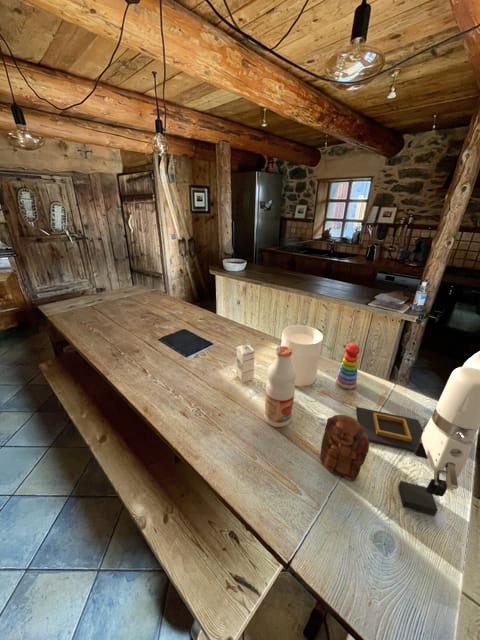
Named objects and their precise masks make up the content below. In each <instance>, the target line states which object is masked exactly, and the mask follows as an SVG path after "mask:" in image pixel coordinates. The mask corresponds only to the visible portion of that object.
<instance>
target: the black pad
mask: <svg viewBox="0 0 480 640" xmlns="http://www.w3.org/2000/svg"><path fill="white" fill-rule="evenodd" d="M397 488H398V492H399V495H400V496H399V497H400V502H401V505H402V508H405V509H408V510H411V511H415V512H417V513H421V514H425V515H428V516H431V517H435V516H436V514H437V513H438V511H439V510H438V507H437V503H436V500H435V498H434V494H430V493H427V491H426V488H427V486H422V485H419V484H415V483H410V482H409V481H405V480H404V481H403V480H400V482H399V483H398V487H397Z"/></svg>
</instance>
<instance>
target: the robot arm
mask: <svg viewBox="0 0 480 640" xmlns="http://www.w3.org/2000/svg"><path fill="white" fill-rule="evenodd" d="M479 429H480V351H477V352H476V353H474V354H473V355H472V356H471V357H469V358H468V359H467V360H466V361H465V362H464V363H463V365H462V366H459V367H457V368H455V369H454V370H452V372H451V373H450V376H449V378H448V379H447V382H446V384H445V386H444V389H443V391H442V393H441V395H440V397H439V400H438V402H437V403H436V406H435V408H434V410H433V412H432V414H431V416H430V418H429V420H428V421H424V422H423V427H422V431H421V433H422V437H421V438H419V442H420V443H419V444H418V446H417V448H416V450H415V452H413V454H414V455H415V457H418V458H423V459H425V460H428V463H429V465H430V467H431V469H432V470H433V478H431V479H430V481H429V483H428V485H427V486H426V491H427V493H430V494H432V495H433V496H437V497H444V495H445V494H446V492H447V491H448V490H451V491H453V490H458V488H459V483H458V478H459V477H460V475H461V473H462V472H463V470H464V468H465V466H466V463H467V461H468V459H469V457H470V454H471V450H472V444H473V442H472V440H473V439H474V438H475V436H476V435H477V432H478V431H479ZM444 469H445V470H444ZM440 474H443V475H445V479H444V480H443V479H440Z"/></svg>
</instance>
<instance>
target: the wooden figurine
mask: <svg viewBox="0 0 480 640" xmlns="http://www.w3.org/2000/svg"><path fill="white" fill-rule="evenodd" d="M369 450H370V442H369V439H368V437H367V435H366V433H365V432H364V429H363V428H362V426H361V425H360V423H359V422H358V419H356V418H354V417H352V416H350V415H348V414H334V415H332V417H328V418H327V419H326V424H325V426H324V433H323V436H322V440H321V446H320V455H319V456H320V461H321V464H322V466H323V467H324V469H326V470H327V472H329V473H334V474H335V475H337V476H338V477H340V478H343V479H344V478H346V479H348V480H350V481H351V482H355V481H356V480H357V478H358V476H359V474H360V472H361V468H362V466H363V465H364V464H365V461H366V458H367V455H368V453H369Z"/></svg>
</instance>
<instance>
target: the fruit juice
mask: <svg viewBox="0 0 480 640" xmlns="http://www.w3.org/2000/svg"><path fill="white" fill-rule="evenodd" d="M291 356H292V350H291V348H289V347H286V346H281V345H279V346H277V347H276V349H275V359H274V361H273V362H272V363H271V364H270V365H269V366H268V367H267V378H268V379H267V381H266V384H265V395H264V396H265V398H264V410H263V411H264V412H263V416H264V417H263V418H264V419H265V421H266V422H267V424H268V425H270V426H272V427H276V428H283V427H285V426H287V425H289V424H290V422H291V420H292V415H293V406H294V398H295V393H296V386H295V385H294V381H295V379H296V370H295V368H294V367H293V365H292V363H291V360H290V357H291Z"/></svg>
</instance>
